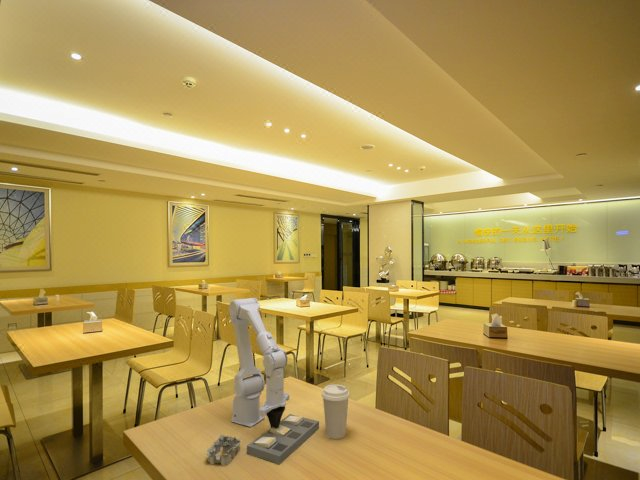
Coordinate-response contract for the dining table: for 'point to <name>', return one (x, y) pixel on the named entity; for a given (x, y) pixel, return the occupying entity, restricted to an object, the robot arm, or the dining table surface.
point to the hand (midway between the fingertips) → (274, 429)
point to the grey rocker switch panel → (284, 441)
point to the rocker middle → (280, 430)
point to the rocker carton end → (265, 442)
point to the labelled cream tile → (293, 420)
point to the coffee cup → (335, 410)
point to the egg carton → (227, 451)
